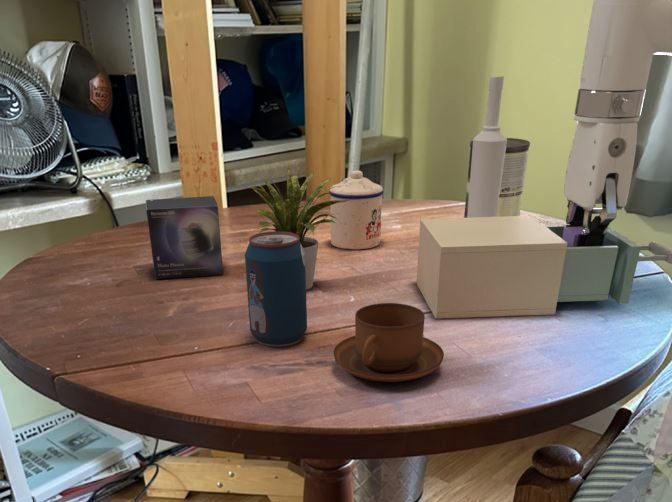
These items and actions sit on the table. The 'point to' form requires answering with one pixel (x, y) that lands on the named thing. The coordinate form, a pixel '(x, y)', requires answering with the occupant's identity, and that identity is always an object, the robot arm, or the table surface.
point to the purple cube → (572, 235)
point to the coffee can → (508, 178)
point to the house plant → (296, 216)
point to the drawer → (604, 267)
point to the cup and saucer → (388, 345)
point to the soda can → (276, 288)
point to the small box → (185, 237)
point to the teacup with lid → (356, 213)
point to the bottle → (488, 158)
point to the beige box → (489, 266)
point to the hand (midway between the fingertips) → (579, 258)
